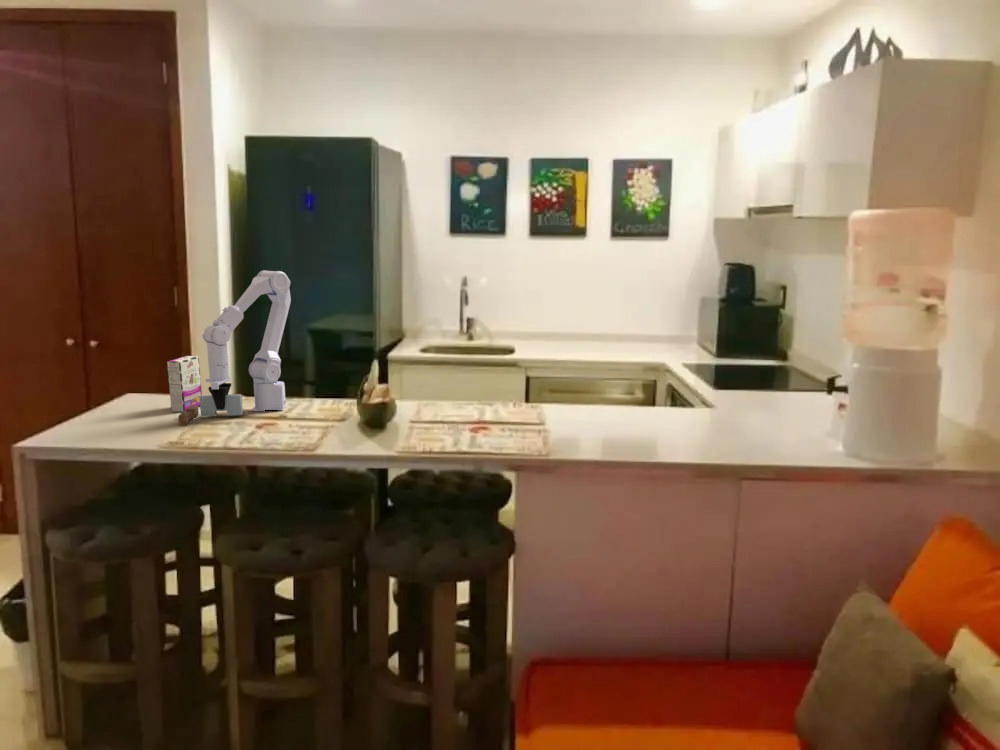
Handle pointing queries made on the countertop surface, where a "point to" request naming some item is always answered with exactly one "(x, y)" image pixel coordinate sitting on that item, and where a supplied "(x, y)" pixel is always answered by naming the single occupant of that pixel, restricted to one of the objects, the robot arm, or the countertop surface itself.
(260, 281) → the robot arm
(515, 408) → the countertop surface
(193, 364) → the candy bar box
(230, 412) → the tapered grey panel
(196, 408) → the walnut slat
